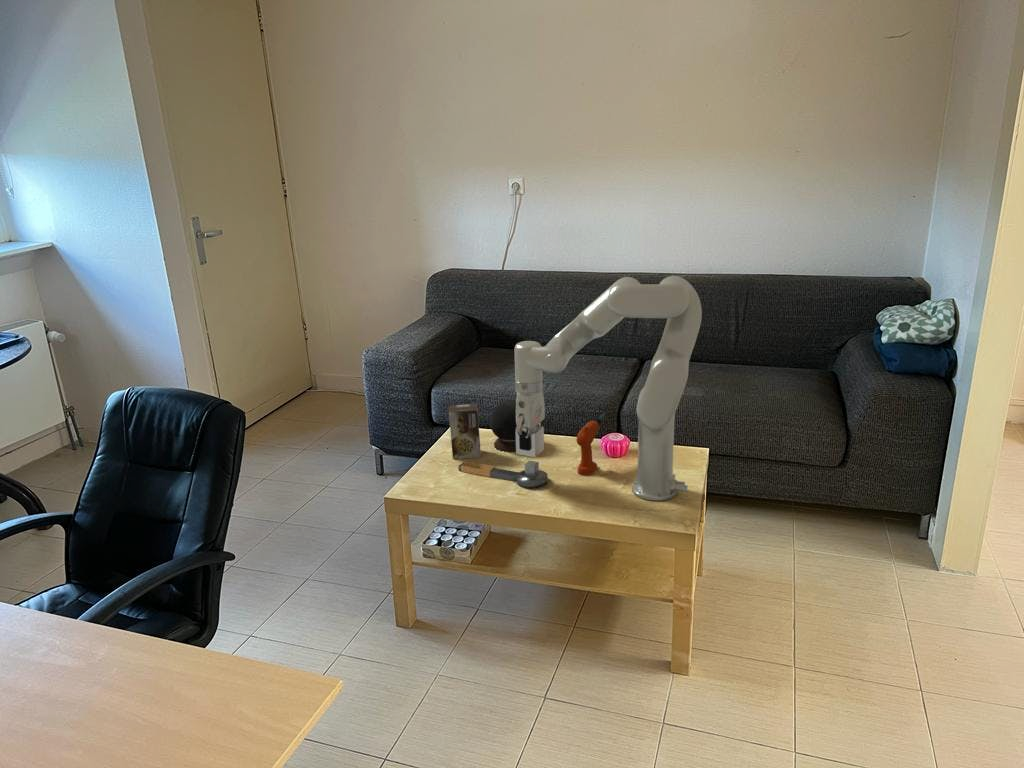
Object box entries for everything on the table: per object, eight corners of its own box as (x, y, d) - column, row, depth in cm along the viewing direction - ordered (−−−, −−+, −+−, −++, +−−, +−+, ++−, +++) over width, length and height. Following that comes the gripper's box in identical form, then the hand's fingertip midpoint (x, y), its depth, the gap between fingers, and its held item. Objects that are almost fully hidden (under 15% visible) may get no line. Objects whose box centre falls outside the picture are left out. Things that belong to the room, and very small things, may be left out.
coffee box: (480, 449, 236) (477, 402, 230) (480, 457, 229) (478, 409, 224) (452, 451, 235) (448, 404, 230) (451, 459, 229) (448, 411, 224)
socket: (544, 449, 210) (543, 426, 208) (535, 457, 205) (534, 434, 202) (525, 446, 212) (524, 423, 210) (516, 453, 207) (515, 430, 205)
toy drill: (613, 448, 228) (611, 406, 222) (589, 479, 214) (586, 434, 208) (599, 446, 231) (597, 403, 224) (574, 476, 216) (571, 432, 210)
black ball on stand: (524, 455, 230) (522, 410, 225) (485, 451, 234) (482, 407, 229) (536, 439, 242) (535, 397, 237) (499, 435, 246) (497, 394, 241)
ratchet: (552, 478, 213) (552, 459, 211) (539, 491, 206) (539, 471, 204) (468, 463, 226) (467, 445, 224) (453, 474, 218) (452, 456, 216)
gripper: (527, 397, 193) (529, 459, 199) (553, 378, 208) (554, 436, 214) (502, 393, 197) (504, 454, 202) (530, 375, 211) (531, 432, 217)
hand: (530, 444), depth 208 cm, fingers closed on socket, 6 cm apart
